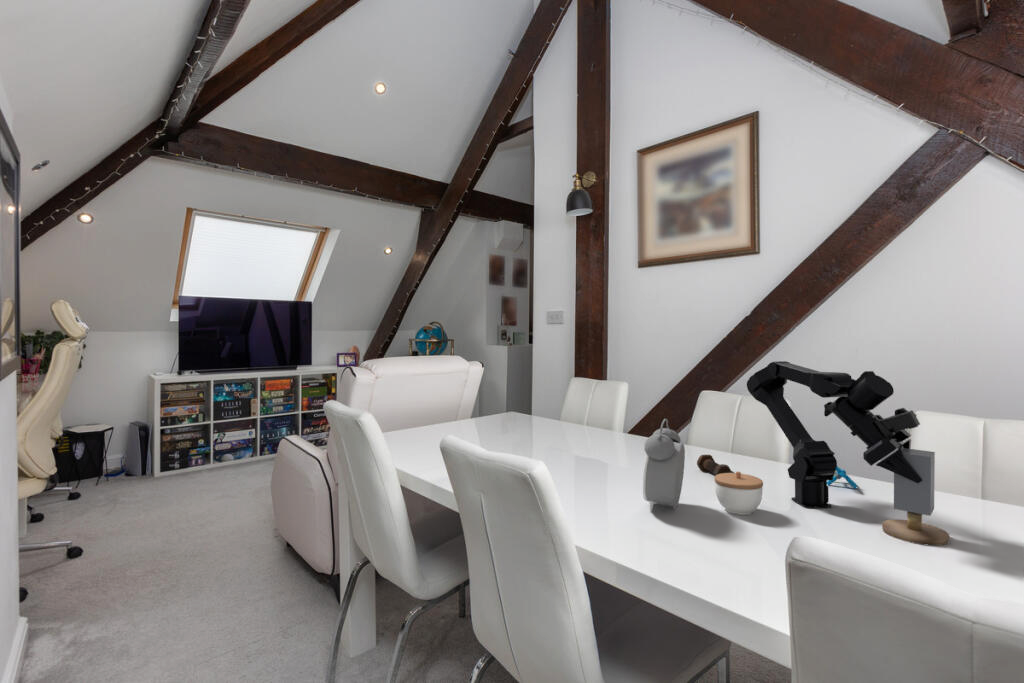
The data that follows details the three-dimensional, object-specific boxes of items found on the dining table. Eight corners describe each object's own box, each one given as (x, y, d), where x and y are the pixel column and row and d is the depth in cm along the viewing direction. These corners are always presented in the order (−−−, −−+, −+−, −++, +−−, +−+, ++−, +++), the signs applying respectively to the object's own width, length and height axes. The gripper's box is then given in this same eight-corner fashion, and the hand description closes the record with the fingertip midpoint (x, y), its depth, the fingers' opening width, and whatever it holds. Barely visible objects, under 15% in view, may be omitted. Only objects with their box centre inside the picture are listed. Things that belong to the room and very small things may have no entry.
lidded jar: (725, 500, 130) (725, 464, 130) (769, 510, 122) (769, 471, 122) (707, 510, 122) (706, 472, 122) (753, 522, 115) (752, 480, 115)
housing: (893, 508, 107) (894, 452, 107) (898, 501, 111) (899, 447, 111) (930, 515, 102) (930, 457, 102) (934, 508, 107) (934, 451, 106)
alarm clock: (653, 495, 135) (652, 413, 134) (687, 499, 131) (686, 415, 131) (640, 515, 120) (639, 423, 120) (678, 520, 116) (677, 425, 116)
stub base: (909, 545, 101) (909, 522, 101) (870, 525, 112) (869, 504, 112) (963, 544, 101) (963, 521, 101) (919, 524, 112) (919, 503, 112)
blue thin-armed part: (861, 487, 134) (830, 457, 138) (843, 501, 136) (812, 471, 140) (859, 483, 143) (829, 454, 148) (841, 495, 145) (812, 467, 149)
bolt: (728, 490, 145) (702, 474, 160) (743, 480, 145) (715, 465, 160) (719, 473, 144) (693, 458, 159) (734, 464, 145) (706, 450, 159)
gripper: (882, 401, 103) (954, 464, 95) (898, 392, 116) (963, 448, 108) (837, 434, 108) (901, 497, 101) (858, 423, 121) (916, 477, 114)
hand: (922, 478), depth 106 cm, fingers closed on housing, 6 cm apart
